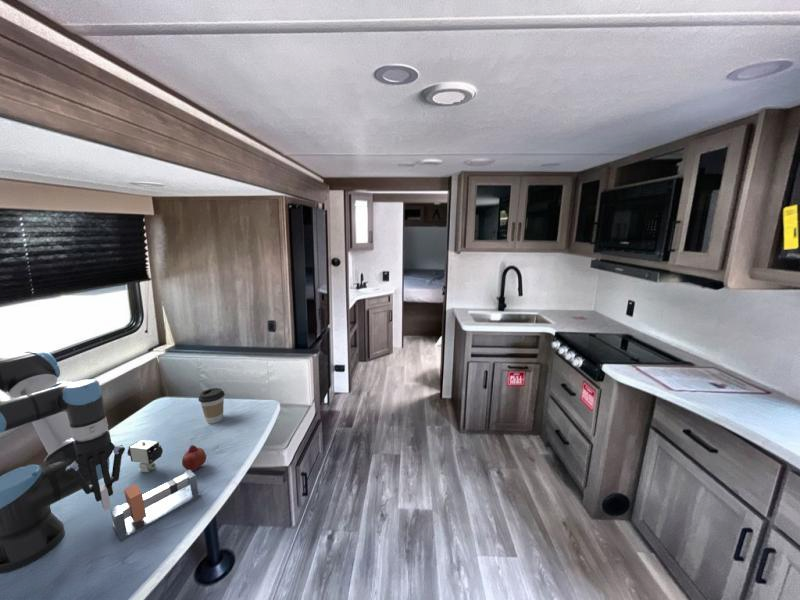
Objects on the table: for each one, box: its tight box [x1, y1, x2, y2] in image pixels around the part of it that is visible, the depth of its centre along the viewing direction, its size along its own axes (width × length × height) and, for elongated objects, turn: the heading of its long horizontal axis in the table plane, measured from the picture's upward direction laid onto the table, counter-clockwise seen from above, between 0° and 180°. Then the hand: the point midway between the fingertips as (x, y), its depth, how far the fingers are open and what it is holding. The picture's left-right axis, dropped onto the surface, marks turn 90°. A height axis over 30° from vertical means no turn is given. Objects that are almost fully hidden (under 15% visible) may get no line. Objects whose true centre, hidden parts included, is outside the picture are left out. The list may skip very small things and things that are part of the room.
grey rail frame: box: [110, 470, 202, 543], centre depth 109 cm, size 22×9×8 cm, turn 142°
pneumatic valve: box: [127, 439, 164, 473], centre depth 129 cm, size 6×12×12 cm, turn 78°
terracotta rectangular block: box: [123, 483, 146, 523], centre depth 104 cm, size 3×6×8 cm, turn 52°
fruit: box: [181, 444, 207, 472], centre depth 129 cm, size 8×8×10 cm
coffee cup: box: [198, 387, 226, 425], centre depth 164 cm, size 11×11×15 cm
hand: (106, 507), depth 98 cm, fingers closed
